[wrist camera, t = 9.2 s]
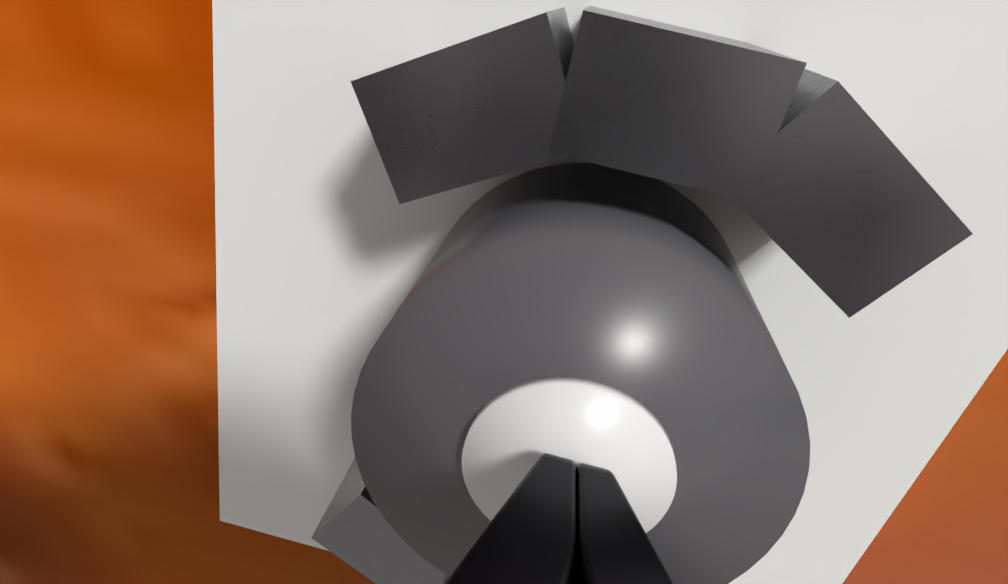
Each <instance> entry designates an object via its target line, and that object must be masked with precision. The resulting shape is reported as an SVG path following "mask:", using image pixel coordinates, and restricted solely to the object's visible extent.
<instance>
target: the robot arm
mask: <svg viewBox="0 0 1008 584" xmlns="http://www.w3.org/2000/svg"><path fill="white" fill-rule="evenodd" d="M445 584H673V582H672V580H671V579H670V577H669V575H668V573H667V571H666V569H665V568H664V566H663V564H662V562H661V560H660V558H659V557H658V555H657V553H656V551H655V549H654V547H653V546H652V544H651V542H650V540H649V538H648V536H647V534H646V533H645V531H644V529H643V527H642V525H641V523H640V522H639V520H638V518H637V516H636V514H635V512H634V511H633V509H632V507H631V505H630V503H629V501H628V500H627V498H626V496H625V494H624V492H623V490H622V489H621V487H620V485H619V483H618V481H617V479H616V477H615V476H614V474H613V473H612V472H611V471H610V470H607V469H604V468H601V467H597V466H593V465H589V464H586V463H579V464H577V465H576V464H575V462H574V461H573V460H571V459H567V458H563V457H560V456H556V455H552V454H549V453H544V454H542V455H540V456H539V458H538V459H537V460H536V462H535V463H534V464H533V466H532V467H531V468H530V470H529V471H528V472H527V474H526V475H525V476H524V478H523V479H522V480H521V482H520V483H519V484H518V486H517V487H516V488H515V490H514V491H513V492H512V494H511V495H510V496H509V498H508V499H507V501H506V502H505V503H504V505H503V506H502V507H501V509H500V510H499V511H498V513H497V514H496V515H495V517H494V518H493V519H492V521H491V522H490V523H489V525H488V526H487V527H486V529H485V530H484V531H483V533H482V534H481V535H480V537H479V538H478V539H477V541H476V542H475V543H474V545H473V546H472V547H471V549H470V550H469V551H468V553H467V554H466V556H465V557H464V558H463V560H462V561H461V562H460V564H459V565H458V566H457V568H456V569H455V570H454V572H453V573H452V574H451V576H450V577H449V578H448V580H447V581H446V582H445Z"/></svg>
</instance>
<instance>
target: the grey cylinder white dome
mask: <svg viewBox="0 0 1008 584" xmlns="http://www.w3.org/2000/svg"><path fill="white" fill-rule="evenodd" d="M351 432H352V443H353V448H354V453H355V458H356V462H357V465H358V468H359V471H360V474H361V477H362V480H363V482H364V484H365V486H366V488H367V490H368V492H369V494H370V496H371V498H372V500H373V502H374V503H375V505H376V506H377V508H378V509H379V511H380V512H381V514H382V515H383V517H384V518H385V520H386V521H387V522H388V523H389V525H390V526H391V527H392V528H393V529H394V530H395V532H396V533H397V534H398V535H399V536H400V537H401V539H402V540H404V541H405V542H406V543H407V544H408V545H409V546H410V547H411V548H412V549H413V550H414V551H415V552H416V553H418V554H419V555H420V556H421V557H422V558H424V559H425V560H426V561H428V562H429V563H430V564H432V565H433V566H434V567H436V568H437V569H438V570H440V571H442V572H443V573H445V574H447V575H448V576H451V574H452V573H453V572H454V570H455V569H456V568H457V566H458V565H459V564H460V562H461V561H462V560H463V558H464V557H465V556H466V554H467V553H468V551H469V550H470V549H471V547H472V546H473V545H474V543H475V542H476V541H477V539H478V538H479V537H480V535H481V534H482V533H483V531H484V530H485V529H486V527H487V526H488V525H489V523H490V522H491V521H492V519H493V518H494V517H495V515H496V514H497V513H498V511H499V510H500V509H501V507H502V506H503V505H504V503H505V502H506V501H507V499H508V498H509V496H510V495H511V494H512V492H513V491H514V490H515V488H516V487H517V486H518V484H519V483H520V482H521V480H522V479H523V478H524V476H525V475H526V474H527V472H528V471H529V470H530V468H531V467H532V466H533V464H534V463H535V462H536V460H537V459H538V458H539V456H540V455H542V454H544V453H549V454H552V455H556V456H560V457H563V458H567V459H571V460H573V461H574V462H575V464H576V465H577V464H579V463H586V464H589V465H593V466H597V467H601V468H604V469H607V470H610V471H611V472H612V473H613V474H614V476H615V477H616V479H617V481H618V483H619V485H620V487H621V489H622V490H623V492H624V494H625V496H626V498H627V500H628V501H629V503H630V505H631V507H632V509H633V511H634V512H635V514H636V516H637V518H638V520H639V522H640V523H641V525H642V527H643V529H644V531H645V533H646V534H647V536H648V538H649V540H650V542H651V544H652V546H653V547H654V549H655V551H656V553H657V555H658V557H659V558H660V560H661V562H662V564H663V566H664V568H665V569H666V571H667V573H668V575H669V577H670V579H671V580H672V582H673V584H729V583H730V582H732V581H733V580H735V579H736V578H738V577H739V576H740V575H742V574H743V573H745V572H746V571H748V570H749V569H750V568H751V567H752V566H754V565H755V564H756V563H757V562H758V561H759V560H760V559H761V558H763V557H764V556H765V555H766V554H767V553H768V552H769V550H770V549H771V548H772V547H773V546H774V545H775V543H776V542H777V541H778V540H779V539H780V538H781V536H782V535H783V533H784V532H785V530H786V528H787V527H788V525H789V524H790V522H791V520H792V519H793V517H794V516H795V513H796V511H797V508H798V506H799V504H800V501H801V499H802V496H803V494H804V490H805V486H806V481H807V477H808V472H809V463H810V438H809V431H808V424H807V417H806V414H805V411H804V408H803V405H802V402H801V399H800V396H799V392H798V390H797V388H796V386H795V384H794V382H793V380H792V378H791V376H790V374H789V372H788V369H787V367H786V365H785V363H784V361H783V359H782V357H781V355H780V353H779V351H778V349H777V347H776V345H775V343H774V340H773V338H772V336H771V334H770V332H769V330H768V328H767V326H766V324H765V322H764V320H763V318H762V316H761V314H760V311H759V309H758V307H757V305H756V303H755V301H754V299H753V297H752V295H751V293H750V291H749V289H748V287H747V285H746V283H745V280H744V278H743V276H742V274H741V272H740V270H739V268H738V266H737V264H736V262H735V260H734V258H733V256H732V254H731V252H730V250H729V248H728V246H727V244H726V242H725V240H724V238H723V236H722V235H721V233H720V232H719V231H718V229H717V228H716V227H715V225H714V224H713V222H712V221H711V220H710V219H709V218H708V217H707V215H706V214H705V213H704V212H703V211H702V210H701V209H700V208H699V207H698V206H697V205H696V204H695V203H693V202H692V201H691V200H689V199H688V198H687V197H686V196H684V195H683V194H682V193H680V192H679V191H678V190H676V189H674V188H672V187H671V186H669V185H667V184H665V183H664V182H662V181H660V180H658V179H655V178H650V177H646V176H642V175H638V174H634V173H630V172H626V171H622V170H618V169H614V168H610V167H606V166H602V165H598V164H594V163H567V164H559V165H552V166H546V167H543V168H539V169H535V170H532V171H528V172H525V173H523V174H521V175H518V176H516V177H513V178H511V179H509V180H507V181H505V182H503V183H501V184H500V185H498V186H496V187H495V188H493V189H491V190H490V191H488V192H487V193H486V194H484V195H483V196H482V197H481V198H479V199H478V200H477V201H476V202H474V203H473V204H472V205H471V206H470V207H469V208H468V209H467V210H466V212H465V213H464V214H463V215H462V216H461V217H460V218H459V219H458V221H457V222H456V224H455V225H454V226H453V228H452V229H451V231H450V232H449V233H448V235H447V236H446V238H445V239H444V241H443V242H442V244H441V245H440V247H439V248H438V250H437V251H436V253H435V254H434V256H433V257H432V259H431V260H430V262H429V263H428V265H427V266H426V268H425V269H424V271H423V272H422V274H421V275H420V277H419V278H418V280H417V281H416V283H415V284H414V286H413V287H412V289H411V290H410V292H409V293H408V295H407V296H406V298H405V299H404V301H403V302H402V304H401V305H400V307H399V308H398V310H397V311H396V313H395V314H394V316H393V317H392V319H391V320H390V322H389V323H388V325H387V326H386V328H385V329H384V331H383V332H382V334H381V335H380V337H379V338H378V340H377V341H376V343H375V344H374V346H373V347H372V349H371V351H370V353H369V355H368V357H367V359H366V361H365V363H364V365H363V367H362V369H361V371H360V375H359V378H358V381H357V385H356V388H355V391H354V396H353V404H352V412H351Z"/></svg>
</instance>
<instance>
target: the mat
mask: <svg viewBox="0 0 1008 584" xmlns="http://www.w3.org/2000/svg"><path fill="white" fill-rule="evenodd" d="M588 6H594V7H599V8H603V9H607V10H611V11H616V12H620V13H624V14H628V15H633V16H637V17H641V18H645V19H650V20H654V21H658V22H662V23H667V24H671V25H675V26H679V27H684V28H688V29H692V30H696V31H701V32H705V33H709V34H713V35H718V36H722V37H726V38H730V39H735V40H739V41H743V42H747V43H750V44H753V45H756V46H759V47H762V48H765V49H768V50H771V51H774V52H777V53H779V54H782V55H785V56H788V57H791V58H794V59H797V60H800V61H803V62H806V63H807V64H806V67H805V69H807V70H810V71H812V72H815V73H818V74H821V75H823V76H826V77H829V78H831V79H834V80H837V81H839V83H840V84H841V85H842V86H843V87H844V88H845V89H846V91H847V92H848V93H849V94H850V95H851V96H852V97H853V98H854V100H855V101H856V102H857V103H858V104H859V105H860V106H861V108H862V109H863V110H864V111H865V112H866V113H867V114H868V115H869V117H870V118H871V119H872V120H873V121H874V122H875V123H876V125H877V126H878V127H879V128H880V129H881V130H882V131H883V132H884V134H885V135H886V136H887V137H888V138H889V139H890V140H891V142H892V143H893V144H894V145H895V146H896V147H897V148H898V149H899V151H900V152H901V153H902V154H903V155H904V156H905V157H906V159H907V160H908V161H909V162H910V163H911V164H912V165H913V166H914V168H915V169H916V170H917V171H918V172H919V173H920V174H921V176H922V177H923V178H924V179H925V180H926V181H927V182H928V183H929V185H930V186H931V187H932V188H933V189H934V190H935V191H936V193H937V194H938V195H939V196H940V197H941V198H942V199H943V200H944V202H945V203H946V204H947V205H948V206H949V207H950V208H951V210H952V211H953V212H954V213H955V214H956V215H957V216H958V217H959V219H960V220H961V221H962V222H963V223H964V224H965V225H966V227H967V228H968V229H969V230H970V231H971V232H972V233H973V234H972V235H971V236H969V237H968V238H966V239H965V240H963V241H962V242H960V243H959V244H958V245H956V246H955V247H953V248H952V249H950V250H949V251H947V252H946V253H944V254H943V255H941V256H940V257H938V258H937V259H935V260H934V261H932V262H931V263H930V264H928V265H927V266H925V267H924V268H922V269H921V270H919V271H918V272H916V273H915V274H913V275H912V276H910V277H909V278H907V279H906V280H905V281H903V282H902V283H900V284H899V285H897V286H896V287H894V288H893V289H891V290H890V291H888V292H887V293H885V294H884V295H882V296H881V297H879V298H878V299H877V300H875V301H874V302H872V303H871V304H869V305H868V306H866V307H865V308H863V309H862V310H860V311H859V312H857V313H856V314H854V315H853V316H851V317H850V318H849V317H848V316H847V315H846V314H845V313H844V312H843V311H842V310H841V309H840V308H839V307H838V306H837V305H836V304H835V303H834V302H833V301H832V300H831V299H830V298H829V297H828V296H827V295H826V294H825V293H824V292H823V291H822V290H821V289H820V288H819V287H818V286H817V285H816V284H815V283H814V281H813V280H812V279H811V278H810V277H809V276H808V275H807V274H806V273H805V272H804V271H803V270H802V269H801V268H800V267H799V266H798V265H797V264H796V263H795V262H794V261H793V260H792V259H791V258H790V257H789V256H788V255H787V254H786V253H785V252H784V251H783V250H782V249H781V248H780V247H779V246H778V245H777V244H776V243H775V242H774V241H773V240H772V239H771V238H770V237H769V236H768V235H767V234H766V233H765V231H764V230H763V229H762V228H761V227H760V226H759V225H758V224H757V223H756V222H755V221H754V220H753V219H752V218H751V217H750V216H749V215H748V214H747V213H746V212H745V211H744V210H743V209H742V208H741V207H740V206H739V205H738V204H737V203H736V202H735V201H734V200H733V199H732V198H731V197H728V196H723V195H719V194H715V193H711V192H707V191H703V190H699V189H695V188H691V187H687V186H683V185H679V184H675V183H671V182H667V181H663V180H660V181H662V182H664V183H665V184H667V185H669V186H671V187H672V188H674V189H676V190H678V191H679V192H680V193H682V194H683V195H684V196H686V197H687V198H688V199H689V200H691V201H692V202H693V203H695V204H696V205H697V206H698V207H699V208H700V209H701V210H702V211H703V212H704V213H705V214H706V215H707V217H708V218H709V219H710V220H711V221H712V222H713V224H714V225H715V227H716V228H717V229H718V231H719V232H720V233H721V235H722V236H723V238H724V240H725V242H726V244H727V246H728V248H729V250H730V252H731V254H732V256H733V258H734V260H735V262H736V264H737V266H738V268H739V270H740V272H741V274H742V276H743V278H744V280H745V283H746V285H747V287H748V289H749V291H750V293H751V295H752V297H753V299H754V301H755V303H756V305H757V307H758V309H759V311H760V314H761V316H762V318H763V320H764V322H765V324H766V326H767V328H768V330H769V332H770V334H771V336H772V338H773V340H774V343H775V345H776V347H777V349H778V351H779V353H780V355H781V357H782V359H783V361H784V363H785V365H786V367H787V369H788V372H789V374H790V376H791V378H792V380H793V382H794V384H795V386H796V388H797V390H798V392H799V396H800V399H801V402H802V405H803V408H804V411H805V414H806V417H807V424H808V431H809V438H810V463H809V472H808V477H807V481H806V486H805V490H804V494H803V496H802V499H801V501H800V504H799V506H798V508H797V511H796V513H795V516H794V517H793V519H792V520H791V522H790V524H789V525H788V527H787V528H786V530H785V532H784V533H783V535H782V536H781V538H780V539H779V540H778V541H777V542H776V543H775V545H774V546H773V547H772V548H771V549H770V550H769V552H768V553H767V554H766V555H765V556H764V557H763V558H761V559H760V560H759V561H758V562H757V563H756V564H755V565H754V566H752V567H751V568H750V569H749V570H748V571H746V572H745V573H743V574H742V575H740V576H739V577H738V578H736V579H735V580H733V581H732V582H730V583H729V584H842V583H843V582H844V580H845V579H846V577H847V576H848V575H849V573H850V572H851V570H852V569H853V567H854V566H855V565H856V563H857V562H858V560H859V559H860V558H861V556H862V555H863V553H864V552H865V550H866V549H867V548H868V546H869V545H870V543H871V542H872V540H873V539H874V538H875V536H876V535H877V533H878V532H879V531H880V529H881V528H882V526H883V525H884V523H885V522H886V521H887V519H888V518H889V516H890V515H891V514H892V512H893V511H894V509H895V508H896V506H897V505H898V504H899V502H900V501H901V499H902V498H903V496H904V495H905V494H906V492H907V491H908V489H909V488H910V487H911V485H912V484H913V482H914V481H915V479H916V478H917V477H918V475H919V474H920V472H921V471H922V470H923V468H924V467H925V465H926V464H927V462H928V461H929V460H930V458H931V457H932V455H933V454H934V452H935V451H936V450H937V448H938V447H939V445H940V444H941V443H942V441H943V440H944V438H945V437H946V435H947V434H948V433H949V431H950V430H951V428H952V427H953V426H954V424H955V423H956V421H957V420H958V418H959V417H960V416H961V414H962V413H963V411H964V410H965V408H966V407H967V406H968V404H969V403H970V401H971V400H972V399H973V397H974V396H975V394H976V393H977V391H978V390H979V389H980V387H981V386H982V384H983V383H984V382H985V380H986V379H987V377H988V376H989V374H990V373H991V372H992V370H993V369H994V367H995V366H996V364H997V363H998V362H999V360H1000V359H1001V357H1002V356H1003V355H1004V353H1005V352H1006V350H1007V349H1008V0H212V7H213V78H214V149H215V220H216V292H217V363H218V434H219V505H220V521H223V522H227V523H230V524H234V525H237V526H241V527H244V528H248V529H252V530H255V531H259V532H262V533H266V534H270V535H273V536H277V537H280V538H284V539H287V540H291V541H295V542H298V543H302V544H305V545H309V546H313V547H316V548H320V549H323V550H327V549H326V548H325V547H323V546H322V545H320V544H319V543H318V542H316V541H315V540H313V539H312V538H311V537H312V535H313V534H314V532H315V530H316V528H317V526H318V524H319V523H320V521H321V519H322V517H323V515H324V513H325V512H326V510H327V508H328V506H329V504H330V502H331V501H332V499H333V497H334V495H335V493H336V491H337V490H338V488H339V486H340V484H341V482H342V480H343V478H344V477H345V475H346V473H347V471H348V469H349V467H350V466H351V464H352V462H353V460H354V458H355V453H354V448H353V443H352V432H351V412H352V404H353V396H354V391H355V388H356V385H357V381H358V378H359V375H360V371H361V369H362V367H363V365H364V363H365V361H366V359H367V357H368V355H369V353H370V351H371V349H372V347H373V346H374V344H375V343H376V341H377V340H378V338H379V337H380V335H381V334H382V332H383V331H384V329H385V328H386V326H387V325H388V323H389V322H390V320H391V319H392V317H393V316H394V314H395V313H396V311H397V310H398V308H399V307H400V305H401V304H402V302H403V301H404V299H405V298H406V296H407V295H408V293H409V292H410V290H411V289H412V287H413V286H414V284H415V283H416V281H417V280H418V278H419V277H420V275H421V274H422V272H423V271H424V269H425V268H426V266H427V265H428V263H429V262H430V260H431V259H432V257H433V256H434V254H435V253H436V251H437V250H438V248H439V247H440V245H441V244H442V242H443V241H444V239H445V238H446V236H447V235H448V233H449V232H450V231H451V229H452V228H453V226H454V225H455V224H456V222H457V221H458V219H459V218H460V217H461V216H462V215H463V214H464V213H465V212H466V210H467V209H468V208H469V207H470V206H471V205H472V204H473V203H474V202H476V201H477V200H478V199H479V198H481V197H482V196H483V195H484V194H486V193H487V192H488V191H490V190H491V189H493V188H495V187H496V186H498V185H500V184H501V183H503V182H505V181H507V180H509V179H511V178H513V177H516V176H518V175H521V174H523V173H525V172H528V171H532V170H535V169H539V168H543V167H546V166H552V165H559V164H567V163H590V162H586V161H582V160H577V159H573V158H569V157H563V158H560V159H556V160H553V161H549V162H546V163H542V164H539V165H535V166H532V167H528V168H525V169H521V170H518V171H514V172H511V173H507V174H504V175H500V176H497V177H493V178H490V179H486V180H483V181H479V182H476V183H472V184H469V185H465V186H462V187H458V188H455V189H451V190H448V191H444V192H441V193H437V194H434V195H430V196H427V197H423V198H420V199H416V200H413V201H409V202H406V203H402V204H399V201H398V199H397V196H396V194H395V191H394V189H393V186H392V184H391V181H390V179H389V176H388V174H387V171H386V169H385V166H384V164H383V161H382V159H381V156H380V154H379V151H378V149H377V146H376V144H375V141H374V139H373V136H372V134H371V131H370V129H369V126H368V124H367V121H366V119H365V116H364V114H363V112H362V109H361V107H360V104H359V102H358V99H357V97H356V94H355V92H354V89H353V87H352V84H351V82H350V81H353V80H356V79H359V78H361V77H364V76H367V75H370V74H373V73H376V72H378V71H381V70H384V69H387V68H390V67H393V66H395V65H398V64H401V63H404V62H407V61H409V60H412V59H415V58H418V57H421V56H424V55H426V54H429V53H432V52H435V51H438V50H441V49H443V48H446V47H449V46H452V45H455V44H458V43H460V42H463V41H466V40H469V39H472V38H474V37H477V36H480V35H483V34H486V33H489V32H491V31H494V30H497V29H500V28H503V27H506V26H508V25H511V24H514V23H517V22H520V21H523V20H525V19H528V18H531V17H534V16H537V15H539V14H542V13H545V12H548V11H552V10H555V9H559V8H562V7H565V11H566V15H567V19H568V23H569V27H570V30H571V34H572V38H573V42H574V45H575V40H576V36H577V32H578V28H579V24H580V20H581V16H582V12H583V10H584V9H585V8H587V7H588ZM658 180H659V179H658ZM327 551H329V550H327Z"/></svg>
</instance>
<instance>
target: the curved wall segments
mask: <svg viewBox="0 0 1008 584" xmlns="http://www.w3.org/2000/svg"><path fill="white" fill-rule="evenodd" d="M806 64H807V63H806V62H803V61H800V60H797V59H794V58H791V57H788V56H785V55H782V54H779V53H777V52H774V51H771V50H768V49H765V48H762V47H759V46H756V45H753V44H750V43H747V42H743V41H739V40H735V39H730V38H726V37H722V36H718V35H713V34H709V33H705V32H701V31H696V30H692V29H688V28H684V27H679V26H675V25H671V24H667V23H662V22H658V21H654V20H650V19H645V18H641V17H637V16H633V15H628V14H624V13H620V12H616V11H611V10H607V9H603V8H599V7H594V6H588V7H587V8H585V9H584V10H583V12H582V16H581V20H580V24H579V28H578V32H577V36H576V40H575V45H574V42H573V38H572V34H571V30H570V27H569V23H568V19H567V15H566V11H565V7H562V8H559V9H555V10H552V11H548V12H545V13H542V14H539V15H537V16H534V17H531V18H528V19H525V20H523V21H520V22H517V23H514V24H511V25H508V26H506V27H503V28H500V29H497V30H494V31H491V32H489V33H486V34H483V35H480V36H477V37H474V38H472V39H469V40H466V41H463V42H460V43H458V44H455V45H452V46H449V47H446V48H443V49H441V50H438V51H435V52H432V53H429V54H426V55H424V56H421V57H418V58H415V59H412V60H409V61H407V62H404V63H401V64H398V65H395V66H393V67H390V68H387V69H384V70H381V71H378V72H376V73H373V74H370V75H367V76H364V77H361V78H359V79H356V80H353V81H350V82H351V84H352V87H353V89H354V92H355V94H356V97H357V99H358V102H359V104H360V107H361V109H362V112H363V114H364V116H365V119H366V121H367V124H368V126H369V129H370V131H371V134H372V136H373V139H374V141H375V144H376V146H377V149H378V151H379V154H380V156H381V159H382V161H383V164H384V166H385V169H386V171H387V174H388V176H389V179H390V181H391V184H392V186H393V189H394V191H395V194H396V196H397V199H398V201H399V204H402V203H406V202H409V201H413V200H416V199H420V198H423V197H427V196H430V195H434V194H437V193H441V192H444V191H448V190H451V189H455V188H458V187H462V186H465V185H469V184H472V183H476V182H479V181H483V180H486V179H490V178H493V177H497V176H500V175H504V174H507V173H511V172H514V171H518V170H521V169H525V168H528V167H532V166H535V165H539V164H542V163H546V162H549V161H553V160H556V159H560V158H563V157H569V158H573V159H577V160H582V161H586V162H590V163H594V164H598V165H602V166H606V167H610V168H614V169H618V170H622V171H626V172H630V173H634V174H638V175H642V176H646V177H650V178H655V179H659V180H663V181H667V182H671V183H675V184H679V185H683V186H687V187H691V188H695V189H699V190H703V191H707V192H711V193H715V194H719V195H723V196H728V197H731V198H732V199H733V200H734V201H735V202H736V203H737V204H738V205H739V206H740V207H741V208H742V209H743V210H744V211H745V212H746V213H747V214H748V215H749V216H750V217H751V218H752V219H753V220H754V221H755V222H756V223H757V224H758V225H759V226H760V227H761V228H762V229H763V230H764V231H765V233H766V234H767V235H768V236H769V237H770V238H771V239H772V240H773V241H774V242H775V243H776V244H777V245H778V246H779V247H780V248H781V249H782V250H783V251H784V252H785V253H786V254H787V255H788V256H789V257H790V258H791V259H792V260H793V261H794V262H795V263H796V264H797V265H798V266H799V267H800V268H801V269H802V270H803V271H804V272H805V273H806V274H807V275H808V276H809V277H810V278H811V279H812V280H813V281H814V283H815V284H816V285H817V286H818V287H819V288H820V289H821V290H822V291H823V292H824V293H825V294H826V295H827V296H828V297H829V298H830V299H831V300H832V301H833V302H834V303H835V304H836V305H837V306H838V307H839V308H840V309H841V310H842V311H843V312H844V313H845V314H846V315H847V316H848V317H849V318H850V317H851V316H853V315H854V314H856V313H857V312H859V311H860V310H862V309H863V308H865V307H866V306H868V305H869V304H871V303H872V302H874V301H875V300H877V299H878V298H879V297H881V296H882V295H884V294H885V293H887V292H888V291H890V290H891V289H893V288H894V287H896V286H897V285H899V284H900V283H902V282H903V281H905V280H906V279H907V278H909V277H910V276H912V275H913V274H915V273H916V272H918V271H919V270H921V269H922V268H924V267H925V266H927V265H928V264H930V263H931V262H932V261H934V260H935V259H937V258H938V257H940V256H941V255H943V254H944V253H946V252H947V251H949V250H950V249H952V248H953V247H955V246H956V245H958V244H959V243H960V242H962V241H963V240H965V239H966V238H968V237H969V236H971V235H972V234H973V233H972V232H971V231H970V230H969V229H968V228H967V227H966V225H965V224H964V223H963V222H962V221H961V220H960V219H959V217H958V216H957V215H956V214H955V213H954V212H953V211H952V210H951V208H950V207H949V206H948V205H947V204H946V203H945V202H944V200H943V199H942V198H941V197H940V196H939V195H938V194H937V193H936V191H935V190H934V189H933V188H932V187H931V186H930V185H929V183H928V182H927V181H926V180H925V179H924V178H923V177H922V176H921V174H920V173H919V172H918V171H917V170H916V169H915V168H914V166H913V165H912V164H911V163H910V162H909V161H908V160H907V159H906V157H905V156H904V155H903V154H902V153H901V152H900V151H899V149H898V148H897V147H896V146H895V145H894V144H893V143H892V142H891V140H890V139H889V138H888V137H887V136H886V135H885V134H884V132H883V131H882V130H881V129H880V128H879V127H878V126H877V125H876V123H875V122H874V121H873V120H872V119H871V118H870V117H869V115H868V114H867V113H866V112H865V111H864V110H863V109H862V108H861V106H860V105H859V104H858V103H857V102H856V101H855V100H854V98H853V97H852V96H851V95H850V94H849V93H848V92H847V91H846V89H845V88H844V87H843V86H842V85H841V84H840V83H839V81H837V80H834V79H831V78H829V77H826V76H823V75H821V74H818V73H815V72H812V71H810V70H807V69H805V67H806ZM311 538H312V539H313V540H315V541H316V542H318V543H319V544H320V545H322V546H323V547H325V548H326V549H327V550H329V551H330V552H332V553H333V554H334V555H336V556H337V557H338V558H340V559H341V560H343V561H344V562H345V563H347V564H348V565H350V566H351V567H352V568H354V569H355V570H357V571H358V572H359V573H361V574H362V575H364V576H365V577H366V578H368V579H369V580H371V581H372V582H373V583H375V584H445V582H446V581H447V580H448V578H449V577H450V576H448V575H447V574H445V573H443V572H442V571H440V570H438V569H437V568H436V567H434V566H433V565H432V564H430V563H429V562H428V561H426V560H425V559H424V558H422V557H421V556H420V555H419V554H418V553H416V552H415V551H414V550H413V549H412V548H411V547H410V546H409V545H408V544H407V543H406V542H405V541H404V540H402V539H401V537H400V536H399V535H398V534H397V533H396V532H395V530H394V529H393V528H392V527H391V526H390V525H389V523H388V522H387V521H386V520H385V518H384V517H383V515H382V514H381V512H380V511H379V509H378V508H377V506H376V505H375V503H374V502H373V500H372V498H371V496H370V494H369V492H368V490H367V488H366V486H365V484H364V482H363V480H362V477H361V474H360V471H359V468H358V465H357V462H356V458H354V460H353V462H352V464H351V466H350V467H349V469H348V471H347V473H346V475H345V477H344V478H343V480H342V482H341V484H340V486H339V488H338V490H337V491H336V493H335V495H334V497H333V499H332V501H331V502H330V504H329V506H328V508H327V510H326V512H325V513H324V515H323V517H322V519H321V521H320V523H319V524H318V526H317V528H316V530H315V532H314V534H313V535H312V537H311Z"/></svg>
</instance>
